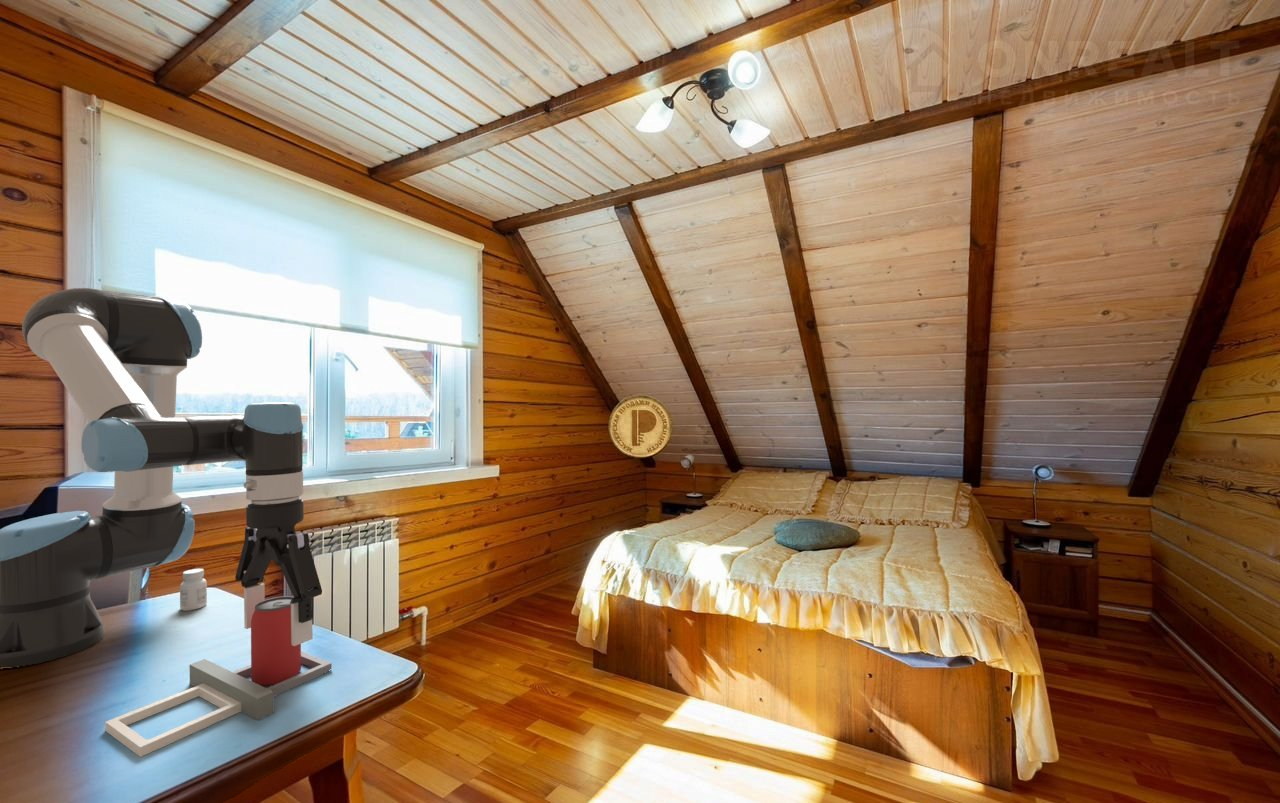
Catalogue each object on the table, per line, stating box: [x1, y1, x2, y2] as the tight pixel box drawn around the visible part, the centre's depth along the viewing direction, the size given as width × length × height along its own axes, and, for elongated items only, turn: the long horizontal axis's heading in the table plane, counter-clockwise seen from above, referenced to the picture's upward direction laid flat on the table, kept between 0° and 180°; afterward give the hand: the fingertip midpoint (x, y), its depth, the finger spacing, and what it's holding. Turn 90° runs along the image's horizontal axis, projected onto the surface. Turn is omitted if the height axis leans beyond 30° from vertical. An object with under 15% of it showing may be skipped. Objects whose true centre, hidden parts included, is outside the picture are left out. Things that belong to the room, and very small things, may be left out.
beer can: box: [250, 595, 302, 688], centre depth 85 cm, size 7×7×12 cm
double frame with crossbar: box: [104, 650, 333, 758], centre depth 80 cm, size 20×24×3 cm
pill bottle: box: [179, 568, 208, 612], centre depth 114 cm, size 4×4×8 cm
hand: (277, 633), depth 85 cm, fingers open, 13 cm apart
